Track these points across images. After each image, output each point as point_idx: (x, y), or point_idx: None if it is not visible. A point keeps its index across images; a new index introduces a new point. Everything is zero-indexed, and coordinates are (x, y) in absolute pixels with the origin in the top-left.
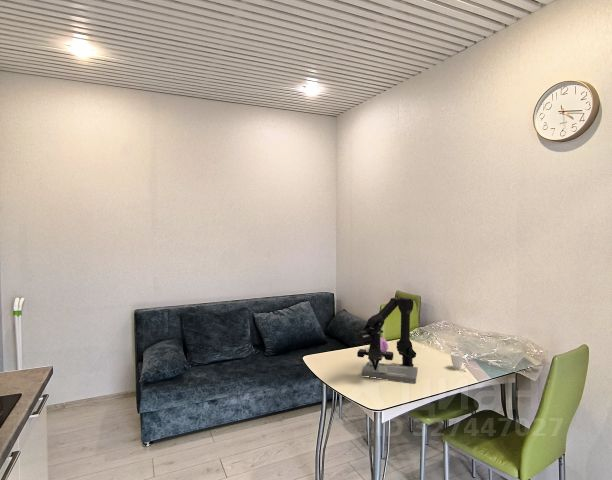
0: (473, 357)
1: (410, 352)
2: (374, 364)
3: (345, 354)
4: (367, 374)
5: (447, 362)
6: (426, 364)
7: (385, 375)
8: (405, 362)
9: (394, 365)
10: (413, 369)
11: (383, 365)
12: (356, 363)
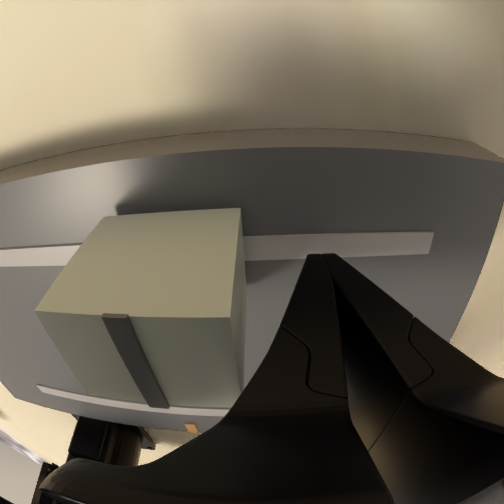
0: (12, 447)
1: (37, 500)
2: (370, 327)
3: None
4: (430, 146)
5: (26, 436)
6: (60, 434)
7: (110, 159)
8: (92, 444)
9: (150, 422)
10: (4, 372)
11: (99, 323)
12: None
